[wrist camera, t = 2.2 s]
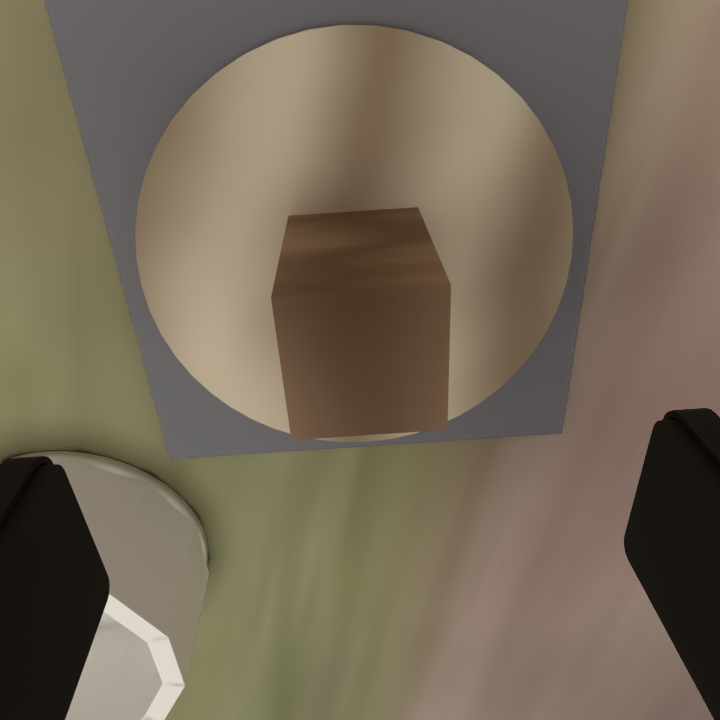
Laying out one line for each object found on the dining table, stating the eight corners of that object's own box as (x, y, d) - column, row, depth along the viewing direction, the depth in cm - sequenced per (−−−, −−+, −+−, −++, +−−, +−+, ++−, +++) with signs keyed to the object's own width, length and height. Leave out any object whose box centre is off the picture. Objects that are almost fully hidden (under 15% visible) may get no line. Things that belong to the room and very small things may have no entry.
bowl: (182, 442, 24) (141, 558, 19) (226, 615, 30) (204, 742, 25) (-90, 460, 24) (-205, 582, 19) (6, 630, 30) (-63, 761, 25)
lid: (591, 8, 17) (735, 9, 11) (540, 414, 24) (610, 552, 18) (90, 40, 17) (-47, 60, 11) (190, 438, 24) (142, 583, 18)
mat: (626, -35, 17) (633, -35, 16) (558, 427, 25) (561, 433, 24) (50, -1, 16) (44, -1, 16) (172, 452, 25) (169, 459, 24)
